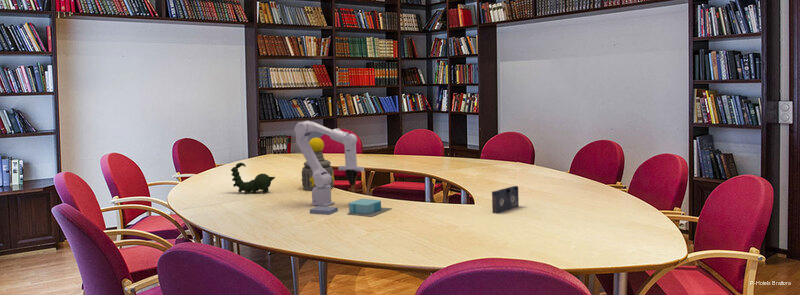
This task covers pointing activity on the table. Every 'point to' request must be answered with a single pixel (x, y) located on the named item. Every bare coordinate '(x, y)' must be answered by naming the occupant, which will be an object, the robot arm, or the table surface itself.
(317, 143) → the decorative lamp
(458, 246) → the table surface
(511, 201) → the vhs cassette tape
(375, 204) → the teal flat block
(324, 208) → the book
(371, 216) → the mat
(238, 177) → the toy figurine
